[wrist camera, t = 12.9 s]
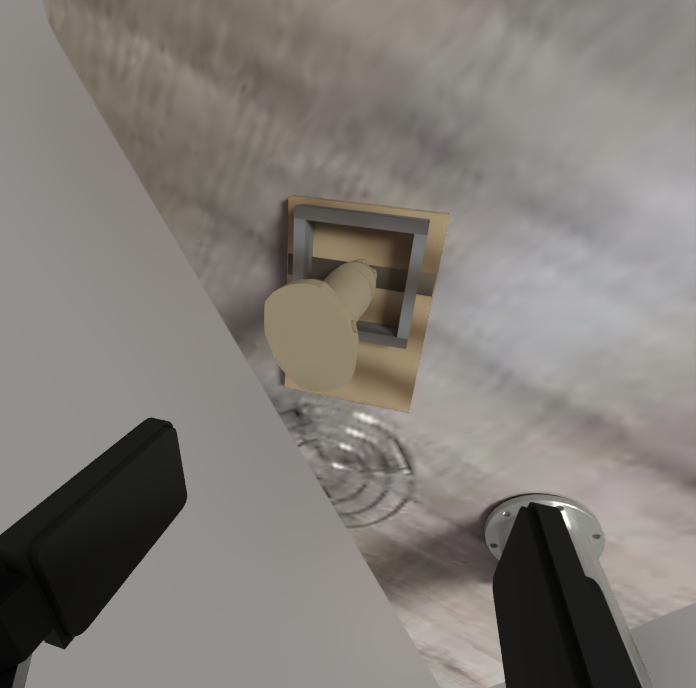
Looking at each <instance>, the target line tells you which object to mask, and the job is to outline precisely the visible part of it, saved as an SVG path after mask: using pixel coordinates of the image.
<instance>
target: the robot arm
mask: <svg viewBox="0 0 696 688" xmlns="http://www.w3.org/2000/svg"><path fill="white" fill-rule="evenodd" d="M186 500H187V491H186V485H185V479H184V473H183V467H182V461H181V455H180V449H179V443H178V438H177V432H176V429H175V428H173V425H172V424H171V422H169V421H164V420H159V419H155V418H148V419H146V420H144V421H143V422H142V423H141V424H139V425H138V426H137V427H135V428H134V429H133V430H132V431H130V432H129V433H128V434H127V435H125V436H124V437H123V438H122V439H120V440H119V441H118V442H117V443H115V444H114V445H113V446H112V447H110V448H109V449H108V450H106V451H105V452H104V453H103V454H102V455H100V456H99V457H98V458H97V459H95V460H94V461H93V462H91V463H90V464H89V465H88V466H86V467H85V468H84V469H83V470H81V471H80V472H79V473H78V474H76V475H75V476H74V477H73V478H71V479H70V480H69V481H68V482H66V483H65V484H64V485H62V486H61V487H60V488H59V489H58V490H56V491H55V492H54V493H52V494H51V495H50V496H49V497H47V498H46V499H45V500H44V501H43V502H41V503H40V504H39V505H37V506H36V507H35V508H34V509H33V510H31V511H30V512H29V513H27V514H26V515H25V516H24V517H22V518H21V519H20V520H19V521H17V522H16V523H15V524H13V525H12V526H11V527H10V528H8V529H7V530H6V531H5V532H3V533H2V534H1V535H0V688H24V687H25V683H26V678H27V674H28V670H29V666H30V661H31V657H32V653H33V652H34V650H35V649H36V648H37V647H38V646H39V644H40V643H41V642H42V641H43V640H44V641H45V642H46V643H48V644H51V645H54V646H56V647H59V648H62V649H65V648H66V647H67V646H68V645H69V643H70V642H71V641H72V640H73V638H74V637H75V636H78V635H80V634H82V633H83V632H84V631H85V630H86V629H87V628H88V627H89V626H90V624H91V623H92V622H93V621H94V620H95V618H96V617H97V616H98V615H99V613H100V612H101V611H102V609H103V608H104V607H105V606H106V604H107V603H108V602H109V601H110V599H111V598H112V597H113V596H114V594H115V593H116V592H117V591H118V589H119V588H120V587H121V585H122V584H123V583H124V582H125V580H126V579H127V578H128V577H129V575H130V574H131V573H132V572H133V570H134V569H135V568H136V566H137V565H138V564H139V563H140V562H141V560H142V559H143V558H144V557H145V555H146V554H147V553H148V551H149V550H150V549H151V548H152V546H153V545H154V544H155V543H156V541H157V540H158V539H159V538H160V536H161V535H162V534H163V533H164V531H165V530H166V529H167V527H168V526H169V525H170V524H171V522H172V521H173V520H174V518H175V517H176V516H177V515H178V514H179V512H180V511H181V510H182V508H183V507H184V505H185V503H186ZM484 531H485V539H486V544H487V546H488V548H489V550H490V551H491V553H492V554H493V555H494V556H495V557H496V558H497V559H498V560H499V563H498V566H497V568H496V571H495V573H494V577H493V596H494V603H495V611H496V618H497V625H498V632H499V639H500V646H501V654H502V661H503V668H504V675H505V682H506V688H655V687H654V685H653V683H652V680H651V678H650V676H649V673H648V671H647V669H646V667H645V664H644V662H643V660H642V657H641V655H640V653H639V650H638V648H637V646H636V644H635V641H634V639H633V637H632V634H631V632H630V630H629V628H628V625H627V623H626V621H625V618H624V616H623V614H622V612H621V609H620V607H619V605H618V602H617V600H616V598H615V596H614V593H613V591H612V589H611V586H610V584H609V582H608V580H607V577H606V575H605V573H604V570H603V568H602V566H601V564H600V561H599V559H598V558H599V557H600V556H601V554H602V552H603V550H604V546H605V537H604V532H603V530H602V528H601V526H600V524H599V522H598V521H597V519H596V518H595V516H594V515H593V514H592V513H591V512H590V511H589V510H587V509H586V508H584V507H583V506H581V505H580V504H578V503H576V502H573V501H571V500H569V499H565V498H562V497H558V496H551V495H526V496H520V497H517V498H513V499H510V500H508V501H506V502H504V503H502V504H500V505H499V506H498V507H496V508H495V509H494V510H493V511H492V512H491V513H490V514H489V516H488V518H487V520H486V522H485V527H484Z"/></svg>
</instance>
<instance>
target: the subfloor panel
mask: <svg viewBox="0 0 696 688" xmlns="http://www.w3.org/2000/svg"><path fill="white" fill-rule="evenodd" d="M449 217H450V214H449V213H441V212H432V211H424V210H415V209H407V208H398V207H390V206H381V205H373V204H364V203H356V202H347V201H339V200H330V199H322V198H313V197H305V196H296V195H292V196H288V244H287V284H288V283H291V282H293V281H296V280H301V279H315V280H320V281H324V280H325V279H326V277H327V276H328V275H329V274H330V273H331V272H332V271H334V270H335V269H336V268H338V267H339V266H341V265H343V264H345V263H348V262H352V261H358V260H359V259H364V260H366V262H367V264H368V265H369V266H370V267H372V268H374V269H375V270H376V272H377V279H376V288H375V292H374V295H373V298H372V300H371V303H370V305H369V306H368V308H367V310H366V311H365V312H364V313H363V315H362V316H361V317H360V319H359V320H358V321H357V322H356V326H357V332H358V338H359V346H358V356H357V362H356V367H355V371H354V374H353V376H352V379H351V380H350V381H349V382H348V383H346V384H345V385H344V386H342V387H340V388H338V389H335V390H331V391H325V392H312V391H308V390H305V389H302V388H299V387H298V386H297V385H296V384H295V383H294V382H293V381H292V380H291V379H290V378H289V377H288V376H287V375H286V374H285V387H287V388H292V389H296V390H301V391H306V392H311V393H315V394H320V395H325V396H330V397H335V398H339V399H344V400H349V401H354V402H359V403H363V404H368V405H373V406H378V407H382V408H387V409H392V410H397V411H402V412H406V413H409V409H410V404H411V399H412V394H413V390H414V385H415V380H416V375H417V370H418V366H419V361H420V356H421V351H422V346H423V342H424V337H425V332H426V327H427V322H428V318H429V313H430V308H431V303H432V298H433V294H434V289H435V284H436V279H437V274H438V270H439V265H440V260H441V255H442V250H443V246H444V241H445V236H446V231H447V226H448V221H449Z"/></svg>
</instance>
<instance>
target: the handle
mask: <svg viewBox="0 0 696 688" xmlns="http://www.w3.org/2000/svg"><path fill="white" fill-rule="evenodd" d="M376 279H377V272H376V270H375V269H374V268H372V267H370V266H369V265H368V264H367V262H366V260H364V259H359V260H358V261H352V262H348V263H345V264H343V265H341V266H339V267H338V268H336V269H335V270H334V271H332V272H331V273H330V274H329V275H328V276H327V277H326V279H325V280H324V281H320V280H315V279H301V280H296V281H293V282H291V283H288V284H286V285H284V286H282V287H281V288H279V289H277V290H276V291H275V292H273V293H272V294H271V295H270V296H269V297H268V298H267V300H266V301H265V308H264V329H265V335H266V338H267V342H268V344H269V346H270V349H271V351H272V353H273V356H274V358H275V360H276V362H277V364H278V365H279V366H280V368H281V369H282V370H283V371H284V372H285V374H286V375H287V376H288V377H289V378H290V379H291V380H292V381H293V382H294V383H295V384H296V385H297V386H298V387H299V388H302V389H305V390H308V391H312V392H325V391H331V390H335V389H338V388H340V387H342V386H344V385H345V384H346V383H348V382H349V381H350V380H351V379H352V376H353V374H354V371H355V367H356V362H357V356H358V346H359V338H358V332H357V326H356V322H357V321H358V320H359V319H360V317H361V316H362V315H363V313H364V312H365V311H366V310H367V308H368V306H369V305H370V303H371V300H372V298H373V295H374V292H375V288H376Z"/></svg>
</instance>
